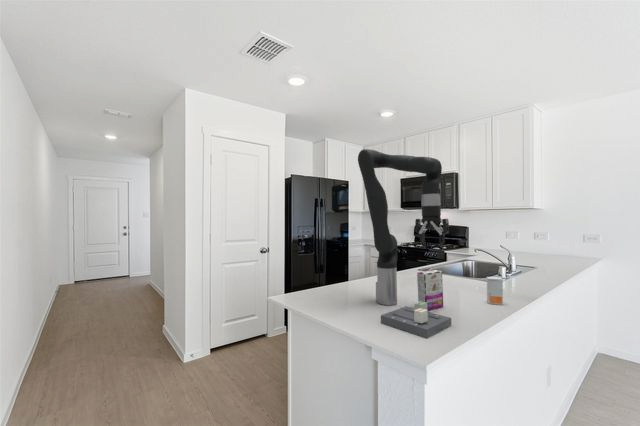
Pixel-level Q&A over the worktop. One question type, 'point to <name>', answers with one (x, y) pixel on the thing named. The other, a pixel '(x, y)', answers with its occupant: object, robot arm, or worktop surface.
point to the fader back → (420, 305)
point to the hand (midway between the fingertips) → (431, 243)
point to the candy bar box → (430, 288)
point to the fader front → (420, 315)
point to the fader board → (406, 322)
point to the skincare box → (495, 290)
